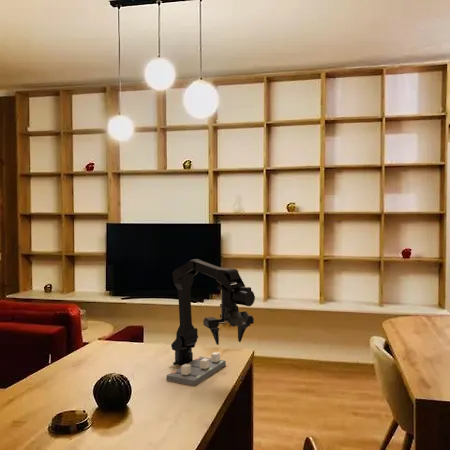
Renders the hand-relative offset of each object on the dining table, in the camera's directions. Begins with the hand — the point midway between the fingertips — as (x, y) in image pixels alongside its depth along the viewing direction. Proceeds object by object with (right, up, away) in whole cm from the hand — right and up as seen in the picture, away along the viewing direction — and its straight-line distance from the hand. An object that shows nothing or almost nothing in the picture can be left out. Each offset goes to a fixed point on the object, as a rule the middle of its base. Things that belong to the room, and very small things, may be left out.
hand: (228, 343), depth 185 cm
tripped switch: (-16, -11, -2) cm, 19 cm away
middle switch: (-9, -11, +5) cm, 15 cm away
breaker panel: (-12, -13, +6) cm, 18 cm away
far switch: (-5, -10, +13) cm, 17 cm away
